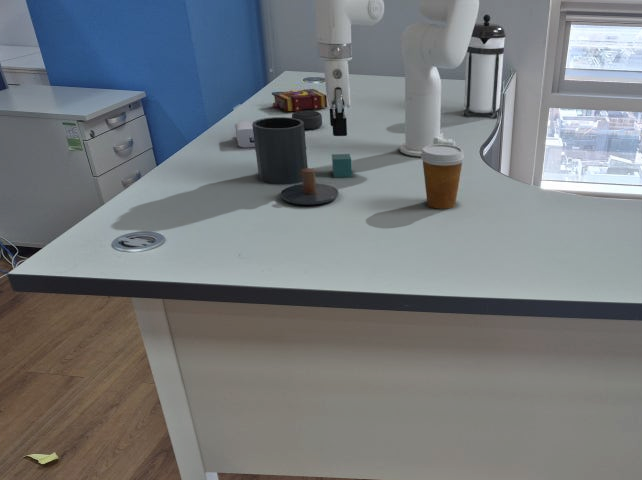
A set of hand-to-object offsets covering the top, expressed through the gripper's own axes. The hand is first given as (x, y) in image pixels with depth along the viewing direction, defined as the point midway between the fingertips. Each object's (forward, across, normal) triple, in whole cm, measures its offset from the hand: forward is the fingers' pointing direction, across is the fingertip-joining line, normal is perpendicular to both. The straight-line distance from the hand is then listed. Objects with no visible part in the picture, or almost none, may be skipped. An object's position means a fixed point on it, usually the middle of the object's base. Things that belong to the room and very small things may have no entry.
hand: (338, 130), depth 155 cm
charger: (+11, +35, +22) cm, 43 cm away
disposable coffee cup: (+11, -23, -21) cm, 33 cm away
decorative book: (+10, +75, +8) cm, 76 cm away
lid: (+10, -16, +8) cm, 20 cm away
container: (+11, 0, +14) cm, 17 cm away
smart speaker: (+10, +49, +6) cm, 50 cm away
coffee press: (+9, +64, -52) cm, 83 cm away
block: (+11, 0, 0) cm, 11 cm away
